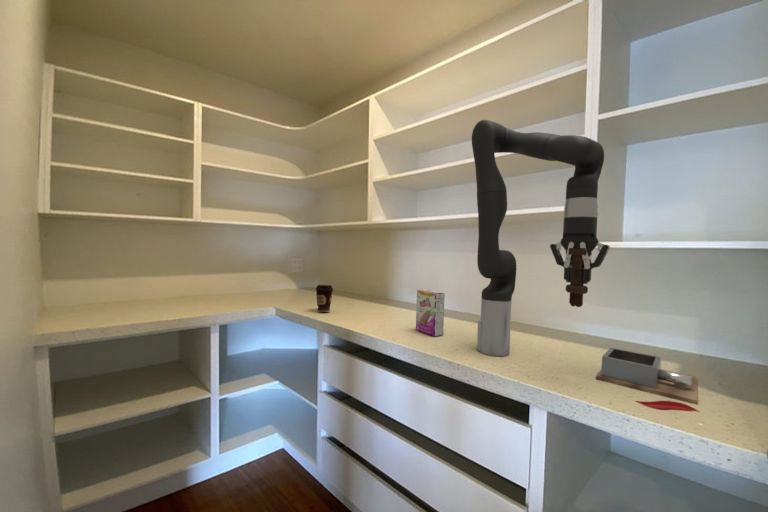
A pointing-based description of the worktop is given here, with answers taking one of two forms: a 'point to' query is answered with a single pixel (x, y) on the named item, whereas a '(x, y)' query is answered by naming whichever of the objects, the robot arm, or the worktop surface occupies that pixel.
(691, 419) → the worktop surface
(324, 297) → the coffee cup
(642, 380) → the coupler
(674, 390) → the base
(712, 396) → the worktop surface
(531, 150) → the robot arm
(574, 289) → the bolt
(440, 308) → the candy bar box
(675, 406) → the cayenne pepper
